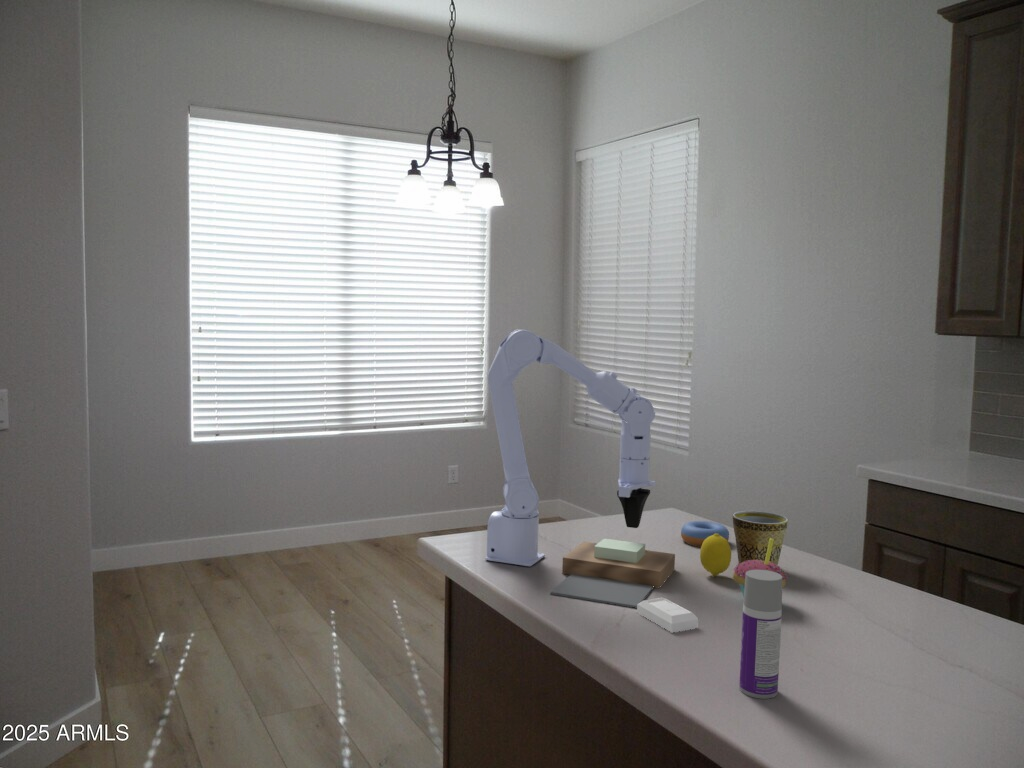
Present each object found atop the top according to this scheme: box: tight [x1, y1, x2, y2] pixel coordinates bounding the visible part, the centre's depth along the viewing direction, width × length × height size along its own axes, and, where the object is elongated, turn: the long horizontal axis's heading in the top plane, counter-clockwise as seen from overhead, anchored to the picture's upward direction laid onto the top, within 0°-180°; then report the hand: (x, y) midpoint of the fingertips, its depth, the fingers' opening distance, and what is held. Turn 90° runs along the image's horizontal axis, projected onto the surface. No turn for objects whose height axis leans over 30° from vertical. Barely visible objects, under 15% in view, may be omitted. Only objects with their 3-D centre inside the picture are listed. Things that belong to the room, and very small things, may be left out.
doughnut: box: [680, 520, 730, 548], centre depth 174 cm, size 10×10×5 cm
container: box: [739, 570, 783, 700], centre depth 104 cm, size 5×5×15 cm
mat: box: [549, 574, 654, 609], centre depth 141 cm, size 15×11×1 cm
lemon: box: [699, 533, 732, 577], centre depth 150 cm, size 6×6×8 cm
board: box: [561, 541, 676, 588], centre depth 152 cm, size 18×12×3 cm, turn 67°
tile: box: [594, 538, 646, 563], centre depth 152 cm, size 8×6×2 cm
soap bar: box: [636, 596, 699, 634], centre depth 128 cm, size 5×9×3 cm, turn 26°
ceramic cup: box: [732, 510, 789, 566], centre depth 157 cm, size 13×10×10 cm
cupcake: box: [732, 535, 788, 599], centre depth 137 cm, size 9×8×12 cm
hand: (632, 526), depth 159 cm, fingers closed
